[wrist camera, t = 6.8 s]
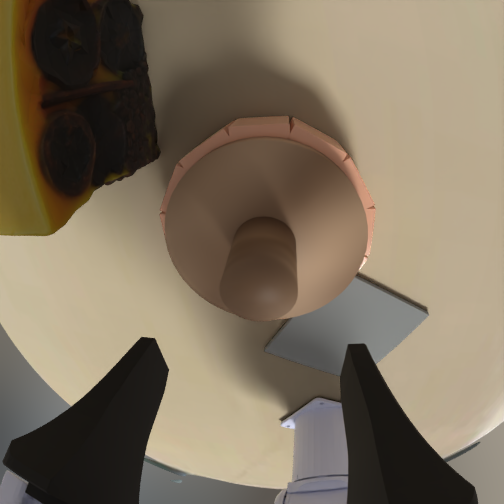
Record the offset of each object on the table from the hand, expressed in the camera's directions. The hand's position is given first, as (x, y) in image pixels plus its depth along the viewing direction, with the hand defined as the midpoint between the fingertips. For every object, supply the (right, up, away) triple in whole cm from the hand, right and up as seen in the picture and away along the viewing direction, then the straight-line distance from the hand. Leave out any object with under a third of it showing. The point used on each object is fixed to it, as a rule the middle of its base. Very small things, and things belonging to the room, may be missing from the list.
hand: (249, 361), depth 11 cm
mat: (+8, -2, +12) cm, 15 cm away
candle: (-11, +14, +4) cm, 18 cm away
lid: (+1, +5, +5) cm, 7 cm away
